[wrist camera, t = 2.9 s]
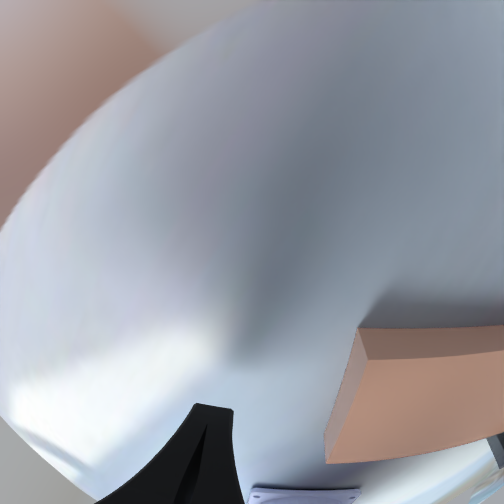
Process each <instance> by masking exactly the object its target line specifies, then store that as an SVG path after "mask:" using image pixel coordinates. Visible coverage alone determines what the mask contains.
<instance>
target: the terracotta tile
mask: <svg viewBox="0 0 504 504" xmlns="http://www.w3.org/2000/svg"><path fill="white" fill-rule="evenodd" d="M502 432H504V325H493V326H477V327H454V328H357V331H356V335H355V339H354V343H353V346H352V350H351V353H350V357H349V360H348V364H347V367H346V371H345V374H344V377H343V380H342V383H341V387H340V390H339V393H338V396H337V399H336V402H335V405H334V407H333V410H332V413H331V416H330V419H329V421H328V424H327V427H326V430H325V432H324V446H325V462H326V464H338V463H356V462H368V461H378V460H387V459H395V458H402V457H408V456H414V455H420V454H425V453H430V452H435V451H440V450H444V449H448V448H452V447H456V446H460V445H464V444H468V443H471V442H474V441H478V440H481V439H484V438H487V437H490V436H493V435H496V434H499V433H502Z"/></svg>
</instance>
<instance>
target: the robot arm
mask: <svg viewBox="0 0 504 504" xmlns="http://www.w3.org/2000/svg"><path fill="white" fill-rule="evenodd" d="M233 415H234V411H233V410H232V409H229V408H222V407H216V406H210V405H205V404H199V403H196V404H194V405H193V407H192V409H191V411H190V412H189V414H188V415H187V417H186V418H185V420H184V421H183V423H182V424H181V425H180V427H179V428H178V430H177V431H176V432H175V433H174V435H173V436H172V437H171V438H170V440H169V441H168V442H167V443H166V444H165V446H164V447H163V448H162V449H161V450H160V451H159V452H158V453H157V454H156V455H155V456H154V458H153V459H152V460H151V461H150V462H149V463H148V464H147V465H146V466H145V467H144V468H142V469H141V470H140V471H139V472H138V473H137V474H136V475H135V476H133V477H132V478H131V479H130V480H129V481H127V482H126V483H125V484H123V485H122V486H121V487H119V488H118V489H117V490H115V491H114V492H112V493H111V494H109V495H108V496H106V497H105V498H103V499H101V500H100V501H98V502H96V503H94V504H245V503H244V500H243V496H242V493H241V489H240V485H239V481H238V476H237V471H236V466H235V460H234V453H233V444H232V429H233ZM360 495H361V490H360V489H348V490H321V491H307V490H280V489H266V488H253V489H251V491H250V496H249V500H248V504H352V503H353V502H354V501H355V500H356V499H357V498H358V497H359V496H360Z"/></svg>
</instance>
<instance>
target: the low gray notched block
mask: <svg viewBox="0 0 504 504" xmlns="http://www.w3.org/2000/svg"><path fill="white" fill-rule="evenodd" d="M486 439H487V441H488V443H489V445H490V448H491V450H492V452H493V454H494V457H495V459H496V461H497V464H498V466H499V469H501V468H503V467H504V432H502V433H499V434H496V435H493V436H490V437H487V438H486Z"/></svg>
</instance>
